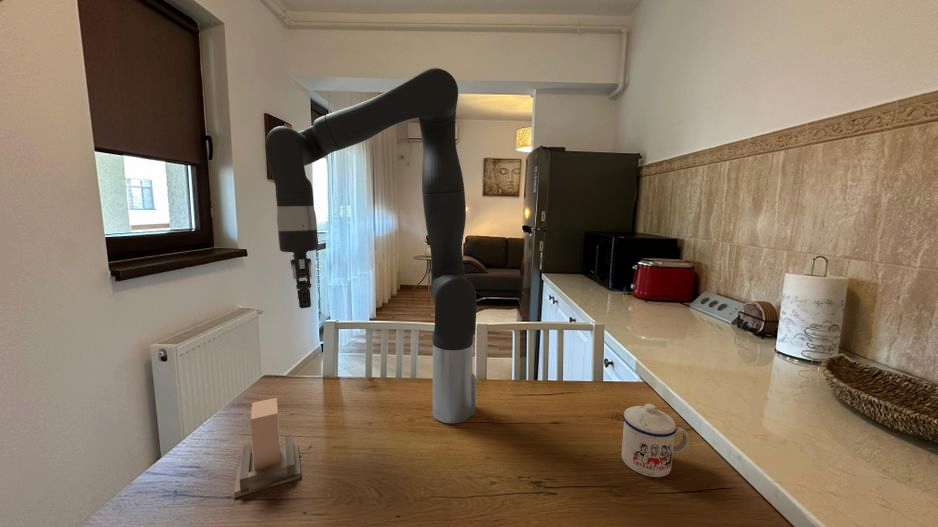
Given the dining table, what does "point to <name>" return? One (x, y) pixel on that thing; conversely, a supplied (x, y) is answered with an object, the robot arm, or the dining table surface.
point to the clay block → (265, 434)
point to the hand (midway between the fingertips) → (304, 303)
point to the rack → (267, 469)
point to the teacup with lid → (650, 440)
